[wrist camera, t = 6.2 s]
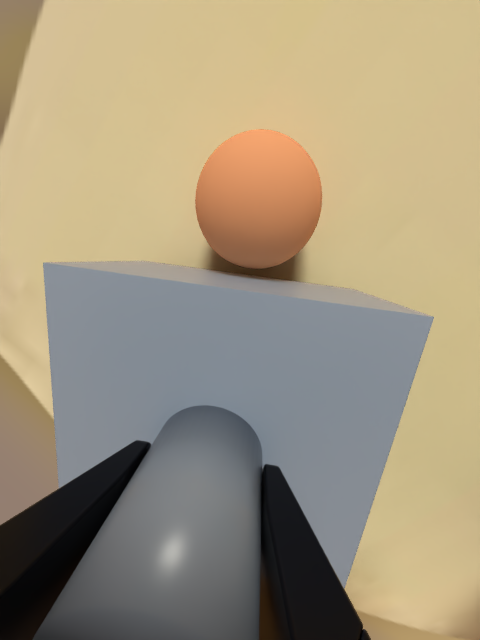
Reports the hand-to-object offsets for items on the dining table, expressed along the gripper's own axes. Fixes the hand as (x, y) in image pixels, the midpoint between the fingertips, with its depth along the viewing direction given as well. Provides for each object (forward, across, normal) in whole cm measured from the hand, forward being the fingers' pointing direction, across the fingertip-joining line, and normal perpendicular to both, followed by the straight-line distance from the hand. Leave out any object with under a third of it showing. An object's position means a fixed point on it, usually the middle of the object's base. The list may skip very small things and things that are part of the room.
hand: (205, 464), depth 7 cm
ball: (+5, 0, -8) cm, 9 cm away
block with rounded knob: (+6, 0, 0) cm, 6 cm away
